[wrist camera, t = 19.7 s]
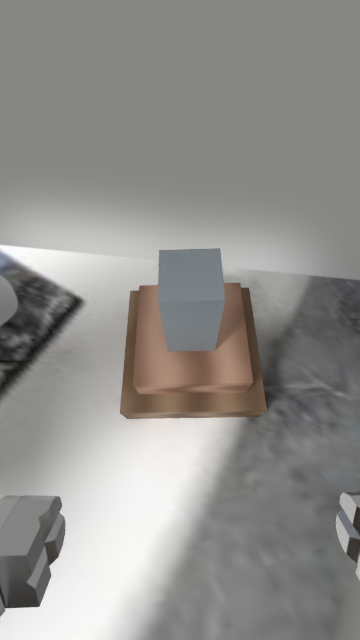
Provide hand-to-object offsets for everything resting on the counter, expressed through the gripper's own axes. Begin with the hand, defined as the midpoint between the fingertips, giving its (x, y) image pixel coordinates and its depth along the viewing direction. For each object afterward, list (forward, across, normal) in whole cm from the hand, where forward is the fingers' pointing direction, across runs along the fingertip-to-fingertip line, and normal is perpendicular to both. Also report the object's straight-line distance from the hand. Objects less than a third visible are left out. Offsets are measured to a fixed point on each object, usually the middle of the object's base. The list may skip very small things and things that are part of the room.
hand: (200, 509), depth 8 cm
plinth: (+29, -1, +8) cm, 30 cm away
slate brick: (+23, 0, +2) cm, 23 cm away
